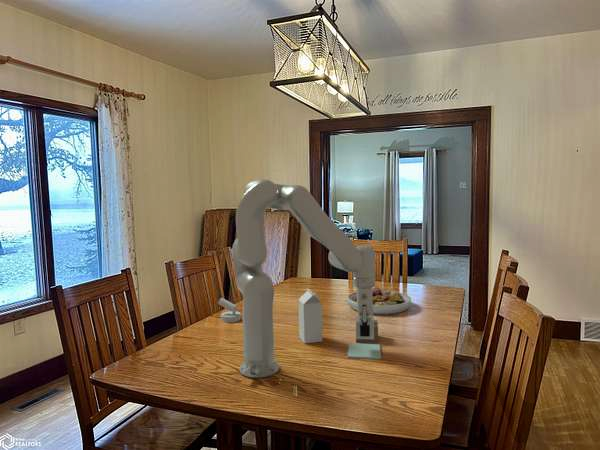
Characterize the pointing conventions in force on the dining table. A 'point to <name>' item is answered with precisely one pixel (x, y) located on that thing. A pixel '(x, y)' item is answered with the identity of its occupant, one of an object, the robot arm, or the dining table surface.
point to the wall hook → (232, 314)
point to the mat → (364, 351)
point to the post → (374, 335)
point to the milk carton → (310, 318)
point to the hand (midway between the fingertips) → (364, 332)
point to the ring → (358, 322)
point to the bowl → (384, 301)
